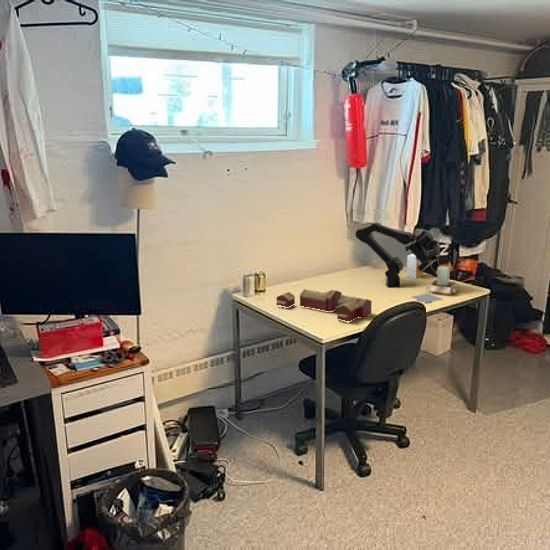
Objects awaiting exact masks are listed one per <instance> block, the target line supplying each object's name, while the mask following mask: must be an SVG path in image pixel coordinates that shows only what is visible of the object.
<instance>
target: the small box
mask: <svg viewBox="0 0 550 550" xmlns="http://www.w3.org/2000/svg"><path fill="white" fill-rule="evenodd" d="M406 259H407V260H406V261H407V263H406V278H408V277H409V278H410V279H413V278H414V280H415V279H419V277H420V278H423V277H424V272H422V271H423V270H424V269H423V270H422V271H420V270H419V269H418V266H419V265H420V264H421V262H420V261H419V260H418V259H416V256H415V255H414V254H413V253H411V254H408V255H407V258H406ZM422 276H423V277H422Z"/></svg>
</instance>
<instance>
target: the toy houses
mask: <svg viewBox="0 0 550 550" xmlns="http://www.w3.org/2000/svg"><path fill="white" fill-rule="evenodd" d="M274 298H275V299H276V306H277V305H281V306H285V307H289V306H291V305H293V304H295V305H296V298H297V297H296V296H295V295H294V294H292V293H291V292H290V291H287V292H285V293H283V294H280V295H278V296H276V297H274ZM300 306H304V307H310V308H315V309H320V310H325V311H333V310H335V309H337V310H336V311H337V314H336V315H337V319H341V320H345V321H351V320H353V319H355V318H357V317H361V318H364V317H366V316H367V317H369V316H370V315H369V314H371V315H372V300H370V299H368V298H367V299H366V298H360V297H356V296H349V295H344V294H343V292H341V291H339V290H334V289H331V290H329V291H325V292H321V291H317V290H311V289H303V290H302V292H300V294H299V307H300ZM368 315H369V316H368ZM367 317H366V318H367ZM357 319H358V318H357ZM364 319H365V318H364ZM355 320H356V319H355Z"/></svg>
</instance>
